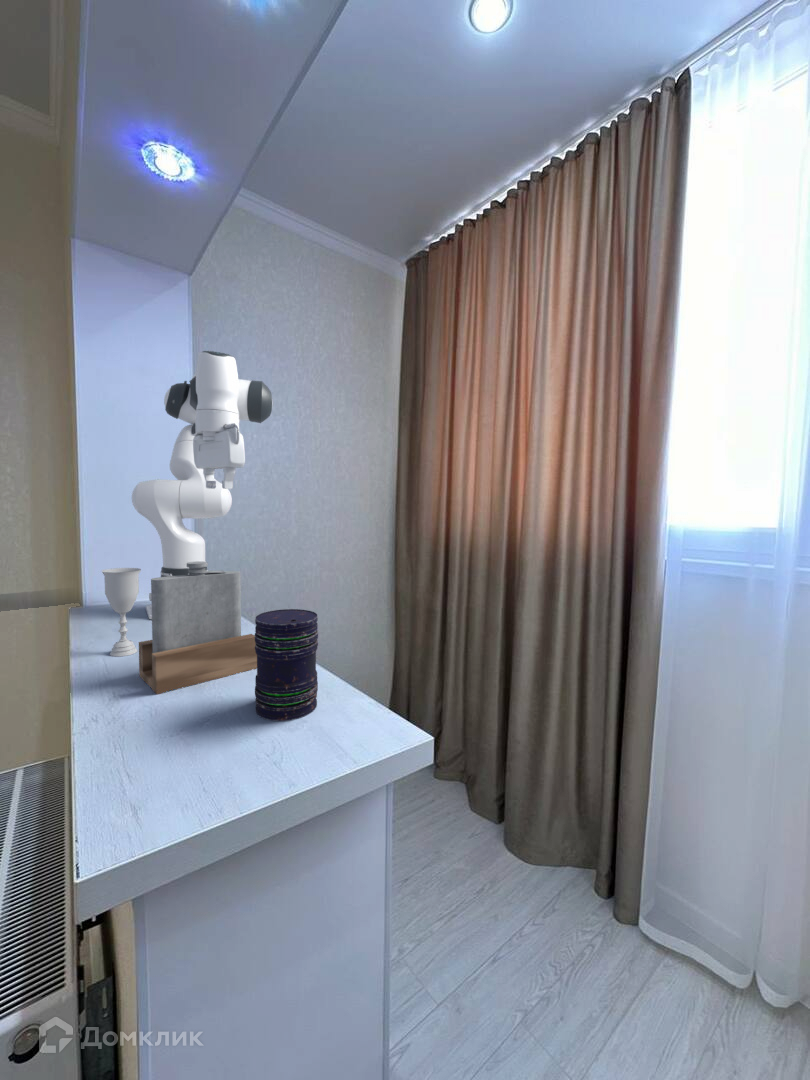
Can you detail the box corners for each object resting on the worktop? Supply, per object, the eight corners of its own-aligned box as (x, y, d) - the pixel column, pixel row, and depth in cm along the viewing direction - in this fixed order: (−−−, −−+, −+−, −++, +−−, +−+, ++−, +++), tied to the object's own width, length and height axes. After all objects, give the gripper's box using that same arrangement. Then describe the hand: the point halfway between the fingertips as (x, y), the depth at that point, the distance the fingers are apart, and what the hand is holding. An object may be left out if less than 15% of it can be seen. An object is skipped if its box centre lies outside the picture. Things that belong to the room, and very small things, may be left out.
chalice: (150, 648, 97) (148, 568, 95) (128, 658, 90) (125, 573, 89) (119, 646, 97) (117, 567, 96) (95, 656, 91) (92, 571, 89)
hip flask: (155, 678, 77) (153, 566, 75) (149, 671, 80) (147, 563, 78) (243, 658, 88) (243, 560, 86) (235, 653, 91) (234, 558, 89)
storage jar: (246, 702, 71) (246, 613, 70) (303, 688, 77) (303, 606, 76) (267, 728, 63) (266, 628, 62) (328, 710, 69) (329, 619, 68)
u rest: (139, 675, 81) (138, 642, 81) (234, 654, 94) (233, 625, 93) (156, 694, 74) (155, 657, 73) (257, 668, 86) (257, 636, 86)
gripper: (252, 424, 92) (252, 489, 93) (215, 432, 106) (215, 488, 108) (222, 419, 87) (223, 488, 89) (187, 428, 102) (188, 487, 103)
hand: (218, 488), depth 98 cm, fingers open, 8 cm apart
